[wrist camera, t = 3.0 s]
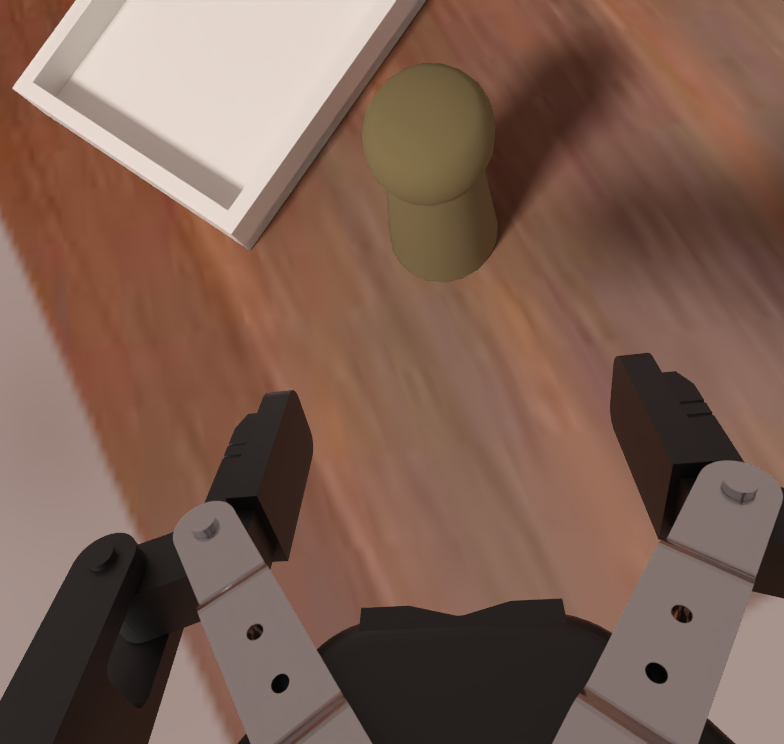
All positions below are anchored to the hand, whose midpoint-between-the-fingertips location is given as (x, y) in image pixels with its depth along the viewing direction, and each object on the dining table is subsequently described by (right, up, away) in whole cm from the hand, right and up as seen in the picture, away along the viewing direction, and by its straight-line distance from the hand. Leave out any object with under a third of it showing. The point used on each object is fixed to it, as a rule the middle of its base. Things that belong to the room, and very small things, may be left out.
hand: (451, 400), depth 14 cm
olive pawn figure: (+1, +9, +17) cm, 19 cm away
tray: (-11, +21, +20) cm, 31 cm away
